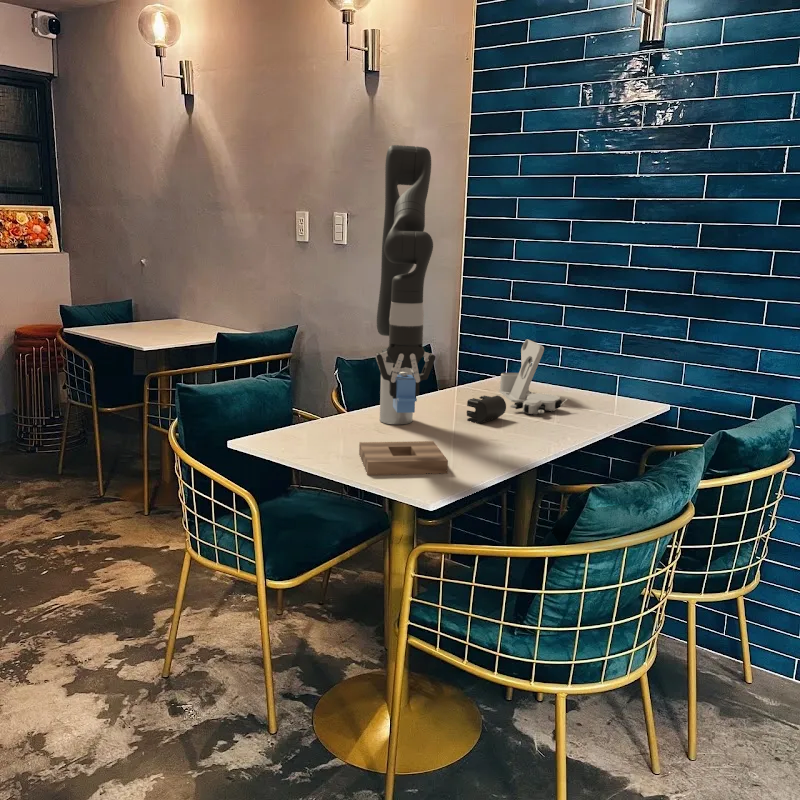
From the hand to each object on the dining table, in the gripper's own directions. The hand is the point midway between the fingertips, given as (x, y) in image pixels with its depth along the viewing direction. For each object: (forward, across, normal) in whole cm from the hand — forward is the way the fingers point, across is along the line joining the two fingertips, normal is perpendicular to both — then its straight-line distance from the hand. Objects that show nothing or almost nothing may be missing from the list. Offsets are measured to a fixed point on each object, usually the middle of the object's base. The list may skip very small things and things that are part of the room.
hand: (404, 397), depth 181 cm
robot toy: (+16, +50, +50) cm, 73 cm away
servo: (+3, 0, 0) cm, 3 cm away
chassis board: (+16, 0, 0) cm, 16 cm away
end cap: (+16, +31, +40) cm, 53 cm away
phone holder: (+16, +51, +72) cm, 89 cm away
